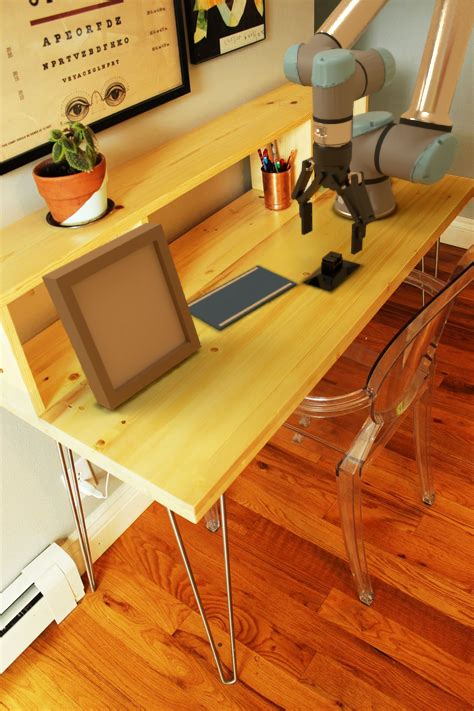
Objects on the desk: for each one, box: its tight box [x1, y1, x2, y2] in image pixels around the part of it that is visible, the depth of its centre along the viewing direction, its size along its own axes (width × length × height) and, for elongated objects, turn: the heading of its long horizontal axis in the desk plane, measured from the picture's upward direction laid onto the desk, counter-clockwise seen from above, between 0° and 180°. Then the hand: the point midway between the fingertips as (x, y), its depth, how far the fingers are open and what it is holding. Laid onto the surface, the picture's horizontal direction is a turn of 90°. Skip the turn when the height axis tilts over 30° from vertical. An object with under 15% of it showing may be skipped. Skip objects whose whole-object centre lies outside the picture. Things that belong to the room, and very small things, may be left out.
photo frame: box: [41, 222, 202, 411], centre depth 110 cm, size 15×22×25 cm
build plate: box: [303, 250, 361, 293], centre depth 135 cm, size 12×7×5 cm, turn 142°
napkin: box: [187, 265, 297, 331], centre depth 133 cm, size 22×12×1 cm, turn 132°
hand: (331, 242), depth 132 cm, fingers open, 13 cm apart
